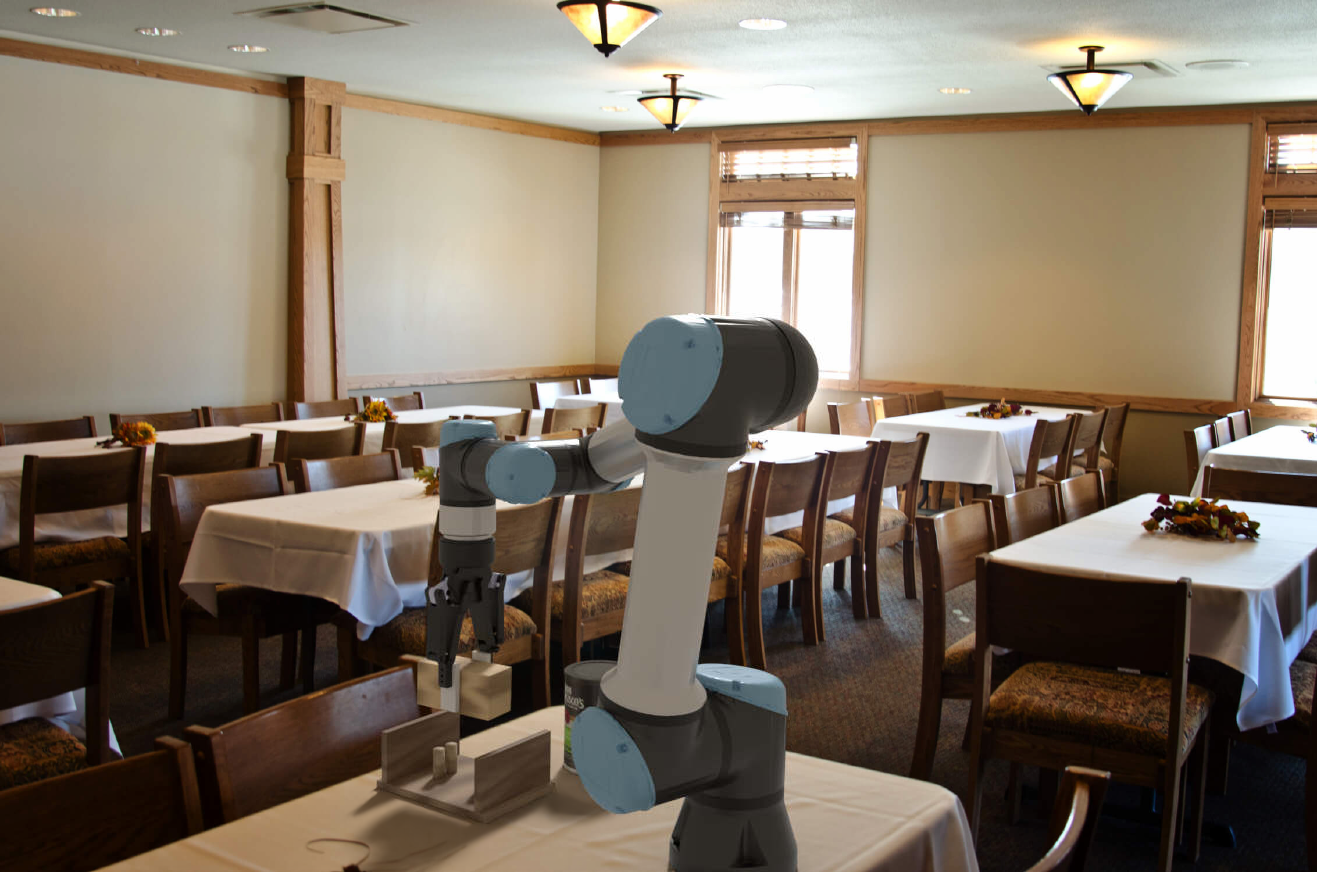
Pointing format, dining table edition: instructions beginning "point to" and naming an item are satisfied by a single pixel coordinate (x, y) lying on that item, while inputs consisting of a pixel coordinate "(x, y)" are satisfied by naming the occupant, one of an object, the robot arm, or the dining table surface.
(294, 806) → the dining table surface
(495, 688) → the beam
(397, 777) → the peg frame
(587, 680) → the coffee can
